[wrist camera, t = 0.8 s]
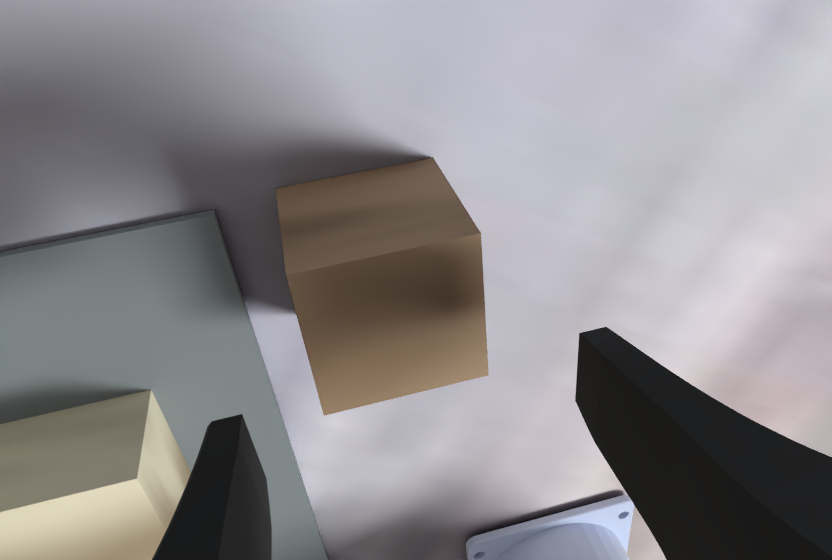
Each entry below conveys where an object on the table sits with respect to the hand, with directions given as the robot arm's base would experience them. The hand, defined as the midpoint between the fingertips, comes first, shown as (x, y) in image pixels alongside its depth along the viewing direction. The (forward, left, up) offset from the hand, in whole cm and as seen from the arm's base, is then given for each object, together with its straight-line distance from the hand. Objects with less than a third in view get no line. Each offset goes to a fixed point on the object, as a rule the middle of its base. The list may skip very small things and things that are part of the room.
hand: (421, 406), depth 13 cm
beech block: (-7, +11, -7) cm, 15 cm away
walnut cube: (0, 0, -7) cm, 7 cm away
